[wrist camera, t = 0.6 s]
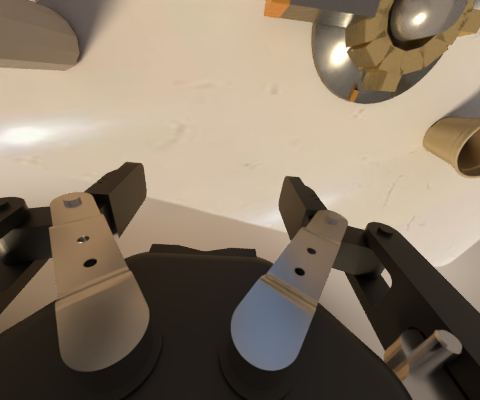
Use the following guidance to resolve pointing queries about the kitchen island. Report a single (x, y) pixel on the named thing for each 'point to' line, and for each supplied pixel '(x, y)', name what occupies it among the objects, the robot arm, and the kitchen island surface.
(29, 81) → the kitchen island surface
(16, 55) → the water bottle
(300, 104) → the kitchen island surface
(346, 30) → the segmented ring on plate
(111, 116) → the kitchen island surface
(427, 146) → the flower pot
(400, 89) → the housing
